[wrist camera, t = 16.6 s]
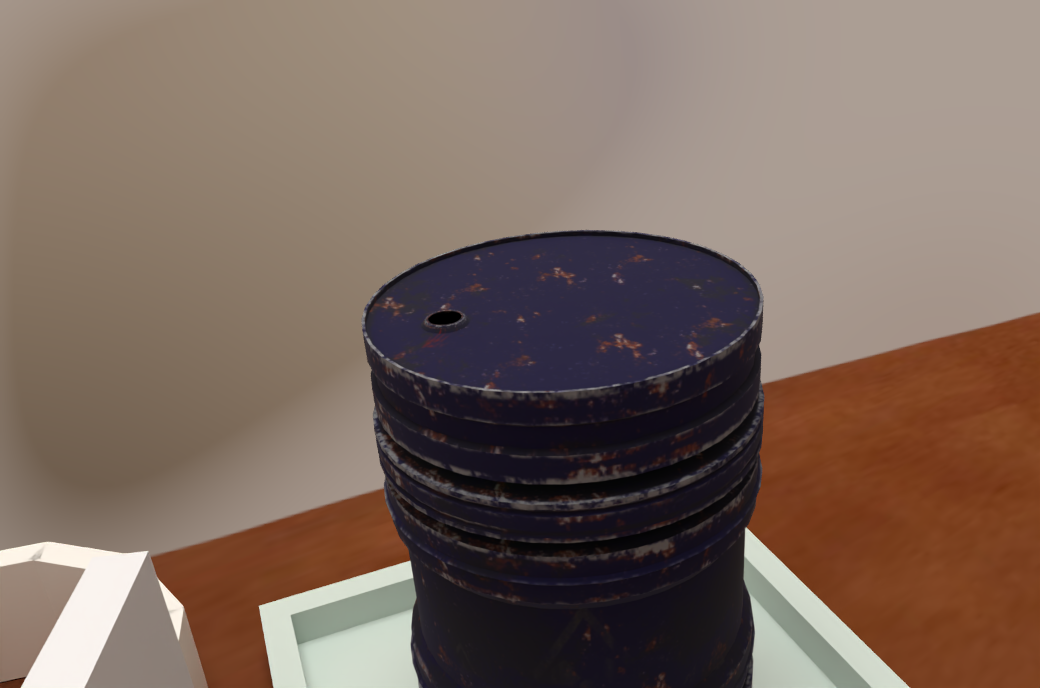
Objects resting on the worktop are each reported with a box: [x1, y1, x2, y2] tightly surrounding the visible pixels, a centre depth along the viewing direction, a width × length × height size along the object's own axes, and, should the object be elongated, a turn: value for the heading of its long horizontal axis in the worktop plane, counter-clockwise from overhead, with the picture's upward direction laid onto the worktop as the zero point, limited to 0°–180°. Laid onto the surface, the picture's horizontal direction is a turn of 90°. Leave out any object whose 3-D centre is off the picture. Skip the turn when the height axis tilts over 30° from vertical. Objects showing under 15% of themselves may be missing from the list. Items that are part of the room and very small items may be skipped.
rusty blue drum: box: [362, 230, 764, 688], centre depth 26 cm, size 10×10×15 cm
